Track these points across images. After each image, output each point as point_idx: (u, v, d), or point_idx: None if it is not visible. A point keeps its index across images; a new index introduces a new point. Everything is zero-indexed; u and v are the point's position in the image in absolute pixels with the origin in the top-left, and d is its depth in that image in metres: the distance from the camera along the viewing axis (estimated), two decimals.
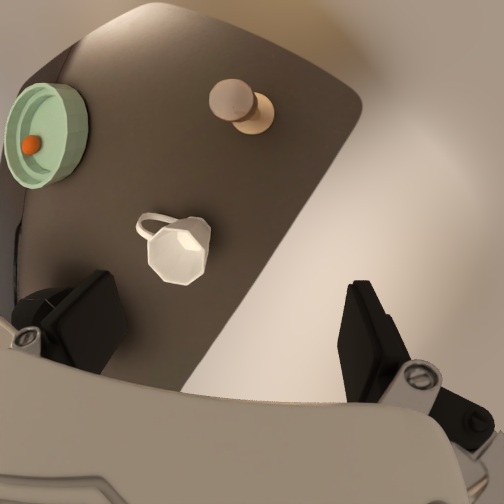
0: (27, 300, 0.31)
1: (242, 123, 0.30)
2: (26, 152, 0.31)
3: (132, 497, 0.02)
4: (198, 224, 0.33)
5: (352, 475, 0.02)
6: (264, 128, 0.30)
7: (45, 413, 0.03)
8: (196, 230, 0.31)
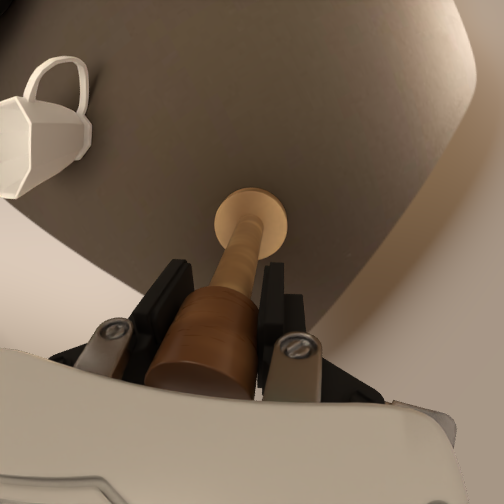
0: None
1: (232, 211, 0.19)
2: None
3: (132, 497, 0.02)
4: (65, 157, 0.16)
5: (352, 475, 0.02)
6: (224, 245, 0.20)
7: (45, 413, 0.03)
8: (47, 167, 0.14)
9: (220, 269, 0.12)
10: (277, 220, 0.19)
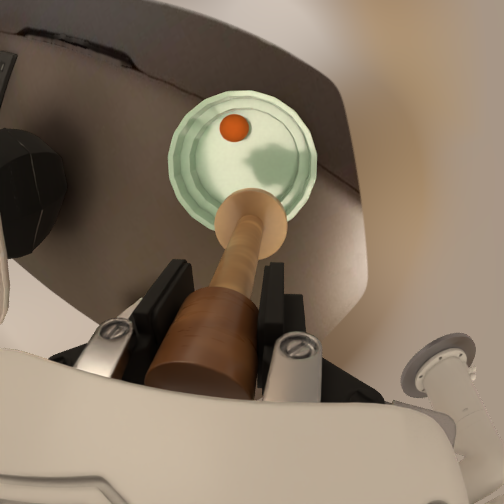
0: (32, 172, 0.23)
1: (232, 211, 0.19)
2: (222, 130, 0.28)
3: (132, 497, 0.02)
4: None
5: (352, 475, 0.02)
6: (224, 245, 0.20)
7: (45, 414, 0.03)
8: None
9: (220, 269, 0.12)
10: (277, 220, 0.19)
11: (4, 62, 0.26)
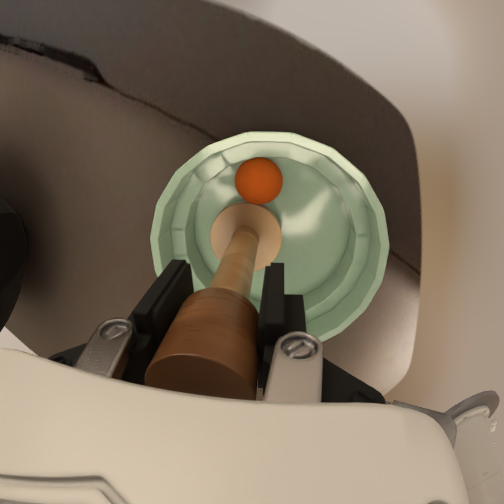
0: None
1: (228, 223, 0.20)
2: (242, 183, 0.18)
3: (132, 497, 0.02)
4: None
5: (352, 475, 0.02)
6: (219, 256, 0.20)
7: (45, 413, 0.03)
8: None
9: (218, 274, 0.12)
10: (272, 232, 0.20)
11: None
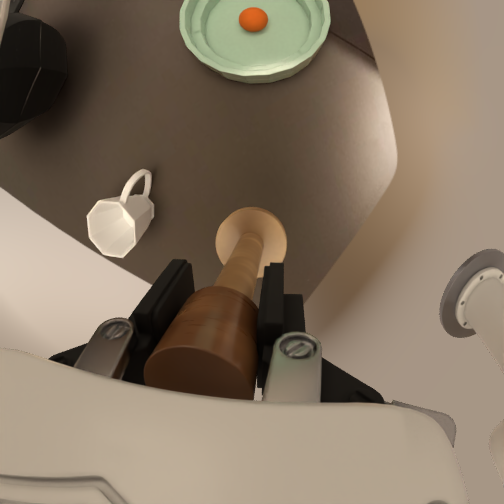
0: (38, 34, 0.16)
1: (233, 229, 0.20)
2: None
3: (132, 497, 0.02)
4: None
5: (352, 475, 0.02)
6: (224, 262, 0.21)
7: (45, 413, 0.03)
8: None
9: (222, 276, 0.12)
10: (277, 239, 0.20)
11: None
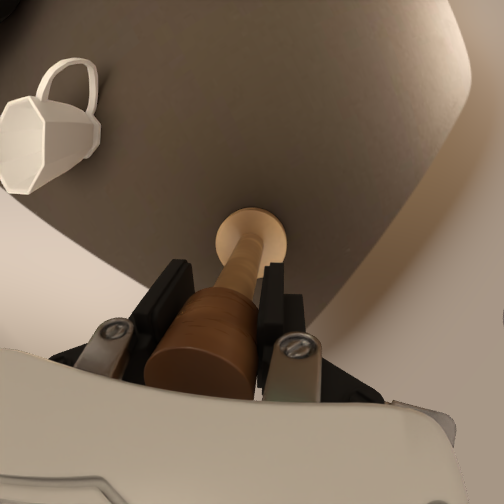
0: None
1: (233, 229, 0.20)
2: None
3: (132, 497, 0.02)
4: (76, 155, 0.17)
5: (352, 475, 0.02)
6: (224, 262, 0.21)
7: (45, 413, 0.03)
8: (59, 164, 0.15)
9: (222, 277, 0.12)
10: (277, 240, 0.20)
11: None
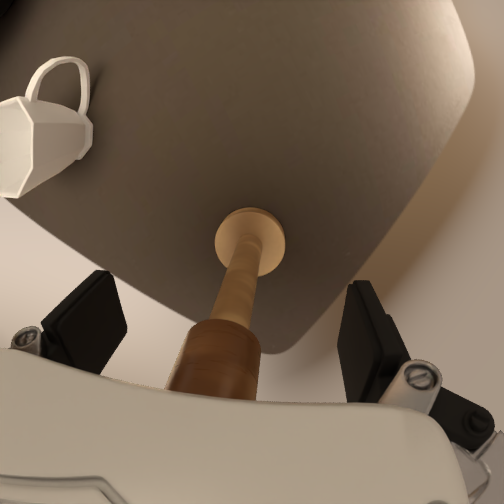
0: None
1: (232, 230, 0.20)
2: None
3: (132, 497, 0.02)
4: (67, 156, 0.16)
5: (352, 475, 0.02)
6: (223, 262, 0.21)
7: (45, 414, 0.03)
8: (48, 166, 0.14)
9: (222, 296, 0.13)
10: (276, 240, 0.20)
11: None
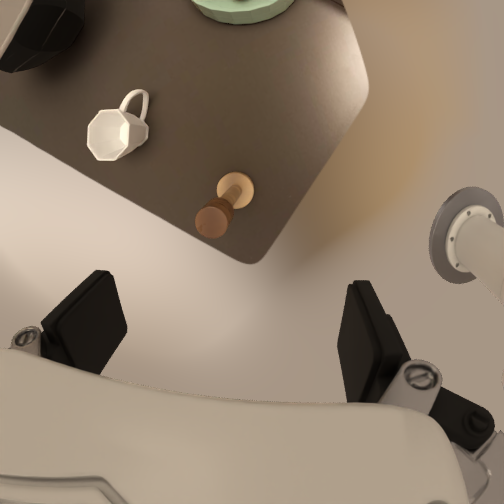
0: None
1: (226, 182, 0.38)
2: None
3: (132, 497, 0.02)
4: (138, 143, 0.34)
5: (352, 475, 0.02)
6: None
7: (45, 413, 0.03)
8: (131, 146, 0.32)
9: None
10: (248, 187, 0.38)
11: None
